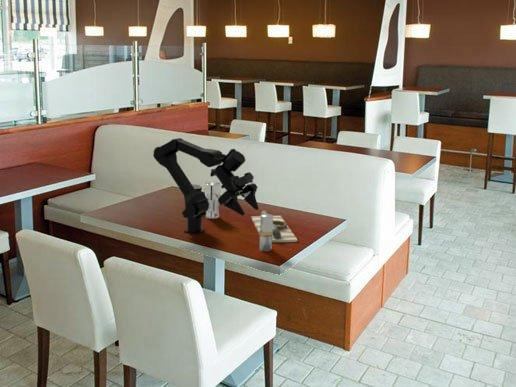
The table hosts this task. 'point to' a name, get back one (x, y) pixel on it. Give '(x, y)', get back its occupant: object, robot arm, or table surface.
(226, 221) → the table surface
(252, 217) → the shaft board
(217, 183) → the beer glass
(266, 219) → the metal cup
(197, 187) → the coffee mug
